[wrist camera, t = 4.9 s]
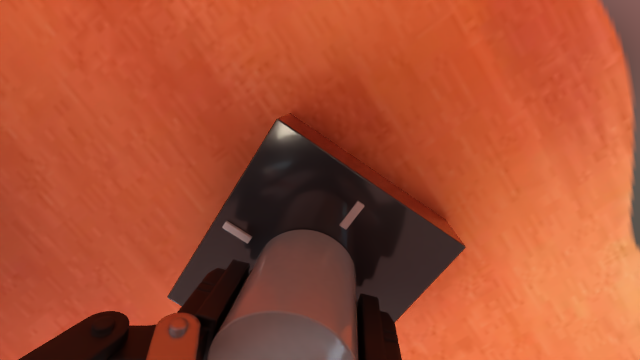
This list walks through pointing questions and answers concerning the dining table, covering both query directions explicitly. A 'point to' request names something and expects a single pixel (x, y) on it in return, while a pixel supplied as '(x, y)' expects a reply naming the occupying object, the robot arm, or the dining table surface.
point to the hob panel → (327, 218)
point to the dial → (294, 304)
